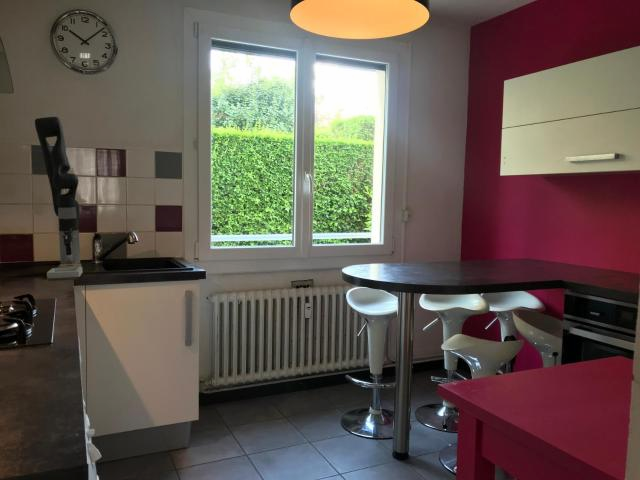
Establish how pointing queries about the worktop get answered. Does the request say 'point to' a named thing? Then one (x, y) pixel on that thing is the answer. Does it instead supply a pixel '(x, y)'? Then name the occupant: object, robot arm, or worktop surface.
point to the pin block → (69, 265)
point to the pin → (70, 257)
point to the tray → (64, 273)
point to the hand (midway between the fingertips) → (69, 254)
